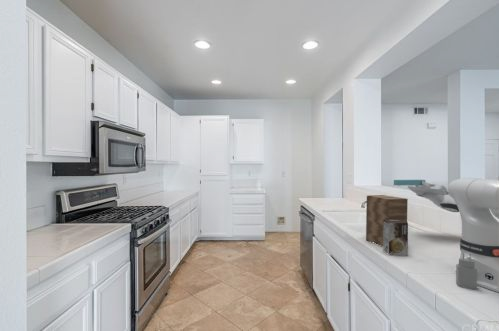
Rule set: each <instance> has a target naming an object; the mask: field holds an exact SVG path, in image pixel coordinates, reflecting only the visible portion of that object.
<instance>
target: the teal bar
mask: <svg viewBox="0 0 499 331" xmlns="http://www.w3.org/2000/svg"><path fill="white" fill-rule="evenodd" d="M421 181H425V182H426V179H394V180H393V186H401V187H402V186H408V185H422V184H421V183H420V182H421Z"/></svg>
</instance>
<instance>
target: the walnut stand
mask: <svg viewBox="0 0 499 331" xmlns="http://www.w3.org/2000/svg"><path fill="white" fill-rule="evenodd" d="M408 205H409V204H408V198H404V197H398V196H391V195H385V194H371V195H370V194H369V195H366V212H365V213H366V216H365V218H366V219H365V220H366V221H365V223H366V224H365V240H366V241H367V240H368V242H370V241H371V242H370V243H372V242H374V243H373V244H375V243H376V244H375V245H377V244H378V245H377V246H380V245H381V246H380V247H382V246H383V226H384V220H403V221H405V222H407V223H408Z"/></svg>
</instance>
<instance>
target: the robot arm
mask: <svg viewBox="0 0 499 331" xmlns="http://www.w3.org/2000/svg"><path fill="white" fill-rule="evenodd" d="M420 183H421V184H422V185H407V188H408V189H409V191H411V192H413V193H415V195H416V196H418V197H421V198H425V199H426V200H429V201H430V202H432V203H433V204H434V205H436V206H437V207H438V208H440V209H442V210H445V211H448V212H451V213H459V215H460V219H461V220H460V221H461V238H460V242H459V249H460V257H459V259H460V258H462V259H463V253H464V259H469V256H470V254H471V260H473V261H475V265H474V267H476V268H477V287H478V286H479V287H482V288H484V289H487V290H489V291H490V290H491V291H493V292H496V293H499V179H492V178H491V179H490V178H489V179H488V178H478V177H463V178H458V179H454V180H452V181H451V182H450V184H449V185H448V189H447V187H445V186H444V185H443V184H440V183H429V182H427V181H426V180H425V181H421V182H420ZM497 219H498V220H497Z"/></svg>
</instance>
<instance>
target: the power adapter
mask: <svg viewBox="0 0 499 331" xmlns="http://www.w3.org/2000/svg"><path fill="white" fill-rule="evenodd" d="M474 265H475V261H473V260H471V254H470V256H469V259H464V253H463V259H462V258H460V257H459V258H458V263H456V266H455V267H456V268H455V285H456V286H457V287H461V288H466V289H471V290H475V291H476V290H478V285H477V268H476V267H474Z"/></svg>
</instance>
